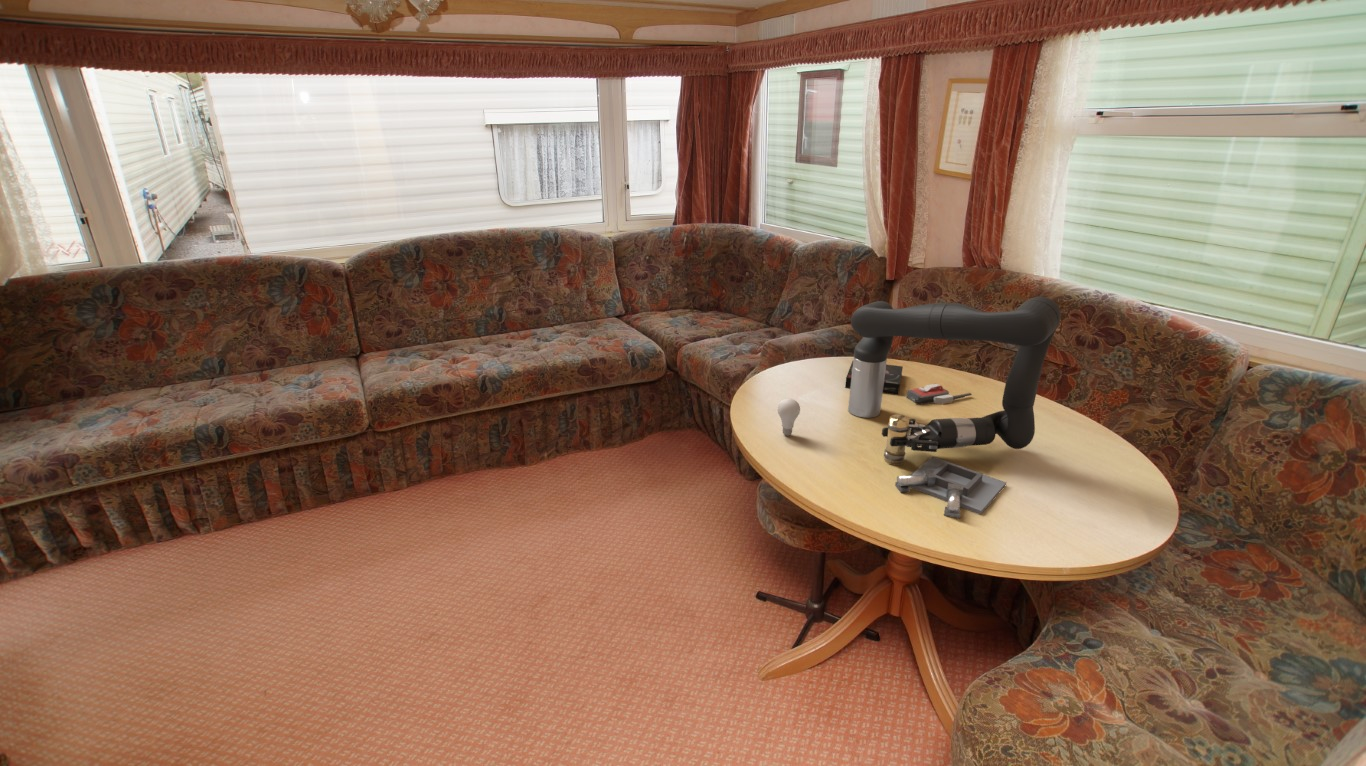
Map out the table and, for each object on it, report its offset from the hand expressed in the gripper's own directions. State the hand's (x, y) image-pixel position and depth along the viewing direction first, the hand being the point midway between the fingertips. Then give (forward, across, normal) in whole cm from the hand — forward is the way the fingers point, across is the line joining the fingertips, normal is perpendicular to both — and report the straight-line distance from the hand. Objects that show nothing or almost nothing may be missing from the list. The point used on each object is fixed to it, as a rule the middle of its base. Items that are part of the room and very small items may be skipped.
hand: (886, 437), depth 158 cm
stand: (-12, +13, +7) cm, 19 cm away
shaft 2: (-7, +22, +7) cm, 24 cm away
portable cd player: (-18, -50, +8) cm, 54 cm away
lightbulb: (+21, -17, +7) cm, 28 cm away
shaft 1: (-2, +13, +7) cm, 15 cm away
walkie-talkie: (-32, -35, +8) cm, 48 cm away
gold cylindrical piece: (-3, 0, +7) cm, 7 cm away
